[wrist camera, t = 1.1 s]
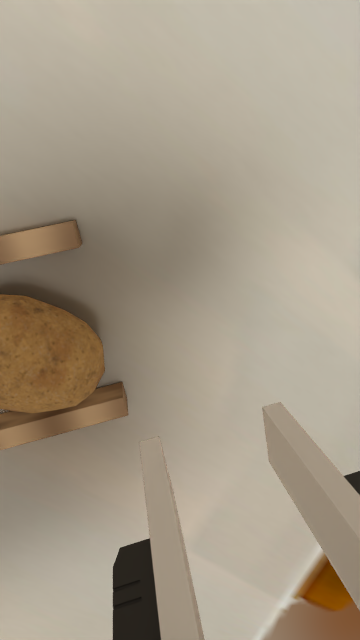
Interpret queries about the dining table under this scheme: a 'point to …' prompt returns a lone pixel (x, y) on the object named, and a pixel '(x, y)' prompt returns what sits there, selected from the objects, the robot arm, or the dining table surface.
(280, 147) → the dining table surface
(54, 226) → the channel
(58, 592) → the dining table surface
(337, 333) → the dining table surface
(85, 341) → the potato
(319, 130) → the dining table surface
